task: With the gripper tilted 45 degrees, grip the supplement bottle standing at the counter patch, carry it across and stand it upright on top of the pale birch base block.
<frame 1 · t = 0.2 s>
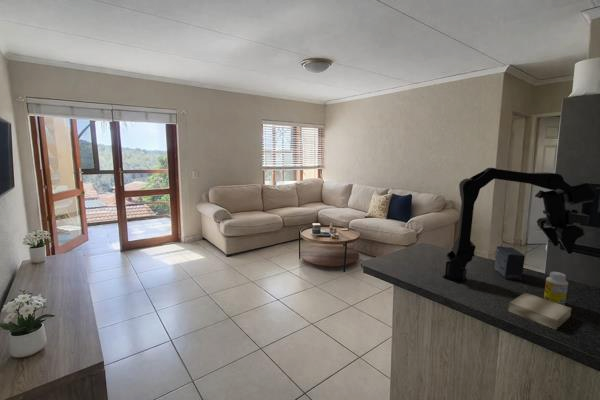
hand: (562, 249, 107), 15 cm above the table, tool tilted 15°, fingers open, 9 cm apart
small box: (507, 275, 123), on the table
supplement bottle: (553, 303, 100), on the table
birch base block: (538, 314, 93), on the table
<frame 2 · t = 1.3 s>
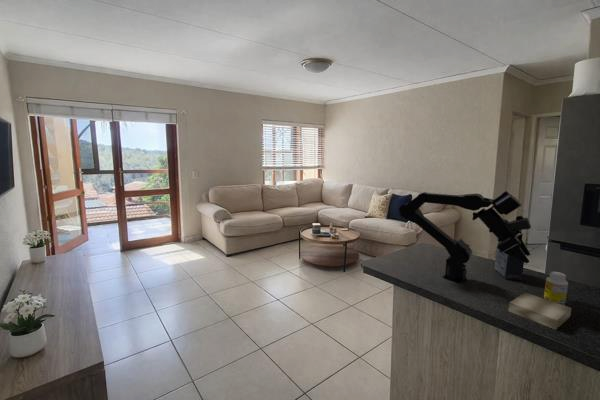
hand: (528, 258, 103), 13 cm above the table, tool tilted 45°, fingers open, 9 cm apart
nothing on the table moved.
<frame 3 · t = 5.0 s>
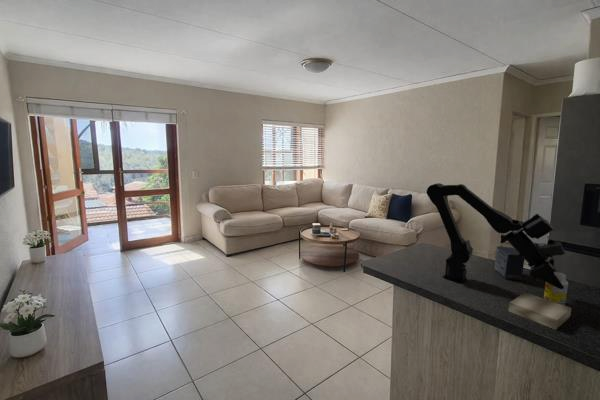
hand: (562, 285, 98), 7 cm above the table, tool tilted 45°, fingers closed on supplement bottle, 6 cm apart
supplement bottle: (553, 303, 100), on the table, touching gripper
everything else where it was.
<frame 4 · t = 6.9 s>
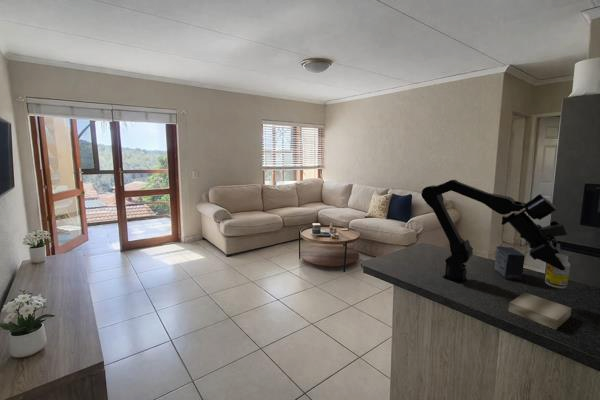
hand: (564, 267, 96), 13 cm above the table, tool tilted 45°, fingers closed on supplement bottle, 6 cm apart
supplement bottle: (555, 285, 98), point 6 cm above the table, touching gripper
everything else where it was.
when the fingers open (11 cm above the table, at t = 9.3 s): supplement bottle drops 1 cm, resting on birch base block.
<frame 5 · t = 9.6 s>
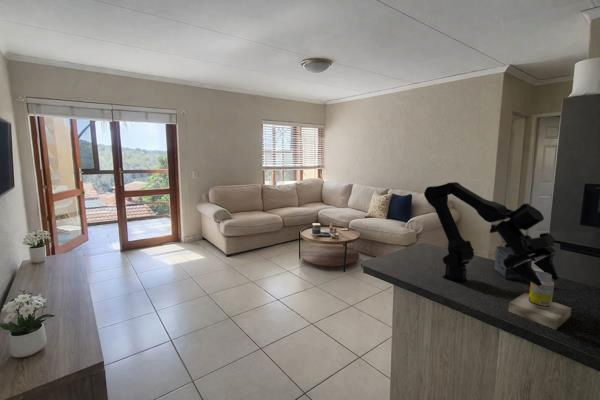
hand: (548, 282, 90), 11 cm above the table, tool tilted 45°, fingers open, 9 cm apart
supplement bottle: (539, 305, 93), point 3 cm above the table, touching birch base block
everything else where it was.
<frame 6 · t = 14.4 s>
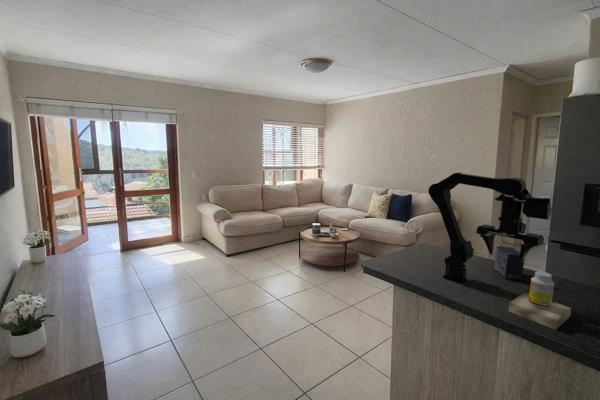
hand: (505, 258, 105), 13 cm above the table, tool pointing down, fingers open, 9 cm apart
nothing on the table moved.
at the end: supplement bottle inside the target area on the birch base block (0.2 cm from its centre), point 2.8 cm above the birch base block's base; supplement bottle tilted 0°; the gripper is holding nothing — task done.
